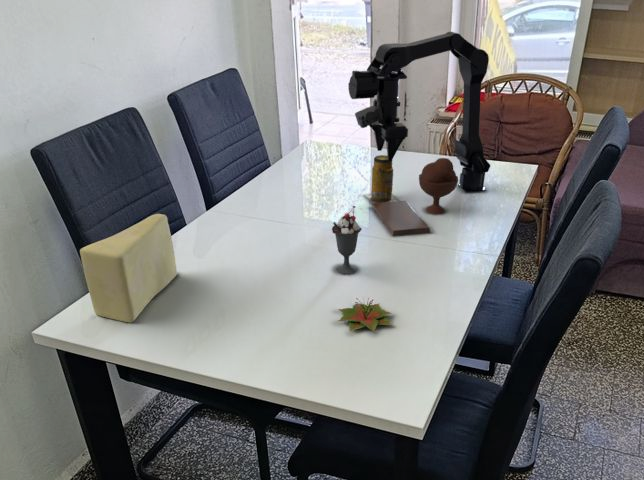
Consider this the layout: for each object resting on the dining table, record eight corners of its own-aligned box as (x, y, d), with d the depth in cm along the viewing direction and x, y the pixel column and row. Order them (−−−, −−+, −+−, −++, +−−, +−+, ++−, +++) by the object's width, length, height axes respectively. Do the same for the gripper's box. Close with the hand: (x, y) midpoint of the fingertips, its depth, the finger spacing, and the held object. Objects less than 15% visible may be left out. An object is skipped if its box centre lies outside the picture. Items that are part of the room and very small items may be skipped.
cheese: (156, 270, 149) (146, 207, 140) (193, 277, 146) (185, 214, 138) (91, 315, 131) (75, 247, 123) (132, 325, 128) (118, 255, 120)
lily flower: (403, 330, 128) (404, 310, 126) (344, 339, 125) (345, 318, 123) (383, 302, 138) (384, 282, 136) (328, 309, 135) (328, 289, 133)
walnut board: (404, 205, 186) (405, 200, 185) (429, 232, 170) (430, 227, 169) (371, 208, 183) (371, 203, 183) (393, 236, 167) (393, 230, 166)
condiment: (388, 193, 194) (389, 153, 187) (399, 203, 187) (401, 161, 181) (365, 195, 192) (366, 155, 185) (375, 205, 185) (377, 164, 178)
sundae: (364, 265, 152) (366, 204, 144) (355, 277, 147) (356, 215, 139) (338, 261, 154) (338, 200, 146) (328, 273, 149) (327, 210, 141)
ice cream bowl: (453, 204, 187) (459, 152, 179) (455, 219, 178) (461, 164, 169) (416, 202, 188) (420, 150, 180) (416, 217, 178) (420, 162, 170)
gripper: (348, 90, 179) (347, 147, 187) (369, 106, 164) (366, 167, 172) (387, 89, 181) (384, 145, 190) (410, 104, 166) (406, 164, 175)
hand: (384, 155), depth 182 cm, fingers open, 9 cm apart
